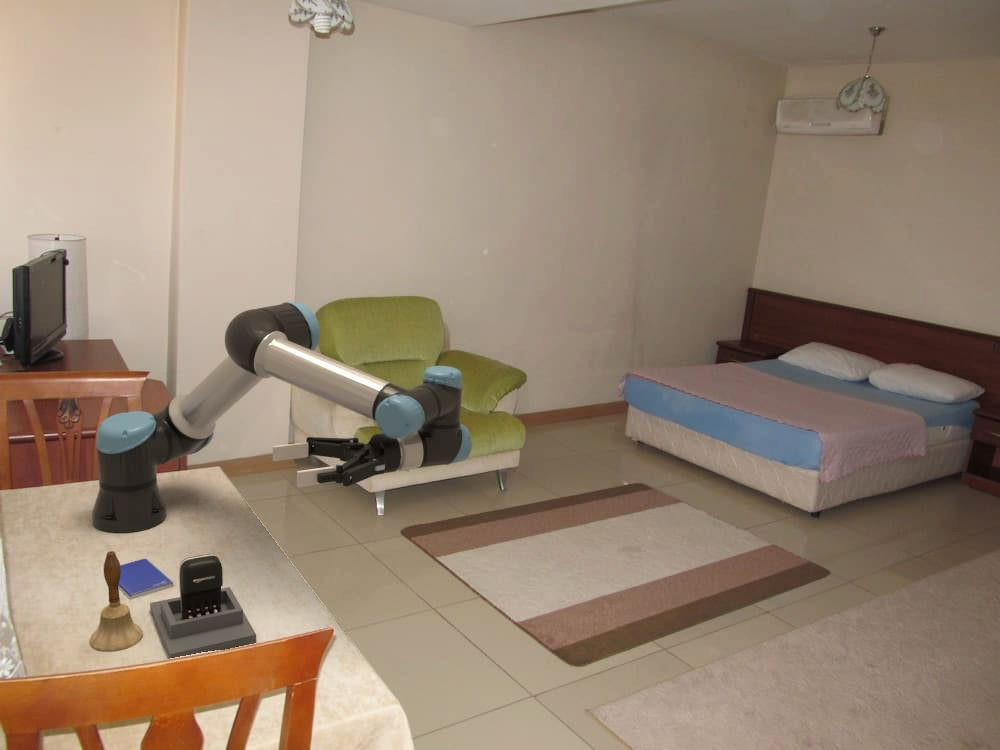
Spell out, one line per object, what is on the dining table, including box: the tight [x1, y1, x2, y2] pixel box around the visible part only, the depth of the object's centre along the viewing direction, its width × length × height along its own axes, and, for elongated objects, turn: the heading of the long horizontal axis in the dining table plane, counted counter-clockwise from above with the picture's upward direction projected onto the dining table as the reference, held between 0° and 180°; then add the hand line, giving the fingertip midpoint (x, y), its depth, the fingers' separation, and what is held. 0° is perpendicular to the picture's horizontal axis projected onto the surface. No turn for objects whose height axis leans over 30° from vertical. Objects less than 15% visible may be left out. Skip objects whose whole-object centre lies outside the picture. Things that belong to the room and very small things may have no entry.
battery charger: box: [178, 553, 224, 620], centre depth 148 cm, size 7×4×11 cm, turn 121°
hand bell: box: [89, 551, 144, 652], centre depth 142 cm, size 8×8×16 cm
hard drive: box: [118, 558, 175, 600], centre depth 163 cm, size 2×8×12 cm
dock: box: [149, 586, 257, 659], centre depth 149 cm, size 18×14×4 cm
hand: (284, 466), depth 150 cm, fingers open, 13 cm apart
